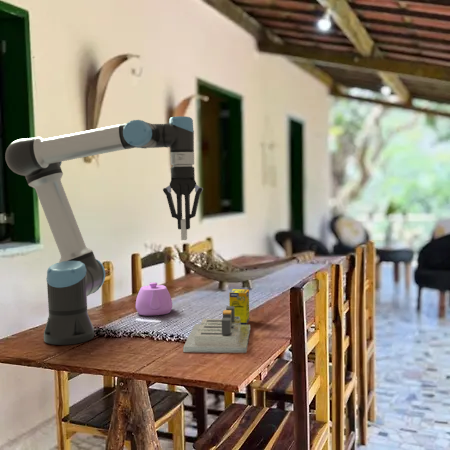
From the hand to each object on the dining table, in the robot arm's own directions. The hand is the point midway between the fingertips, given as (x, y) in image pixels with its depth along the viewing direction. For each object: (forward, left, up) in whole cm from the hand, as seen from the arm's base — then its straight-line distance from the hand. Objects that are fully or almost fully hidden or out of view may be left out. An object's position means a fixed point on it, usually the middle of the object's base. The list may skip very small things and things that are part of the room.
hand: (184, 239), depth 185 cm
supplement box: (+17, +8, -30) cm, 35 cm away
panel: (+12, -12, -29) cm, 34 cm away
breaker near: (+15, -19, -25) cm, 35 cm away
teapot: (-15, +20, -30) cm, 39 cm away
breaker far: (+15, -5, -25) cm, 30 cm away
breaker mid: (+15, -12, -25) cm, 31 cm away
